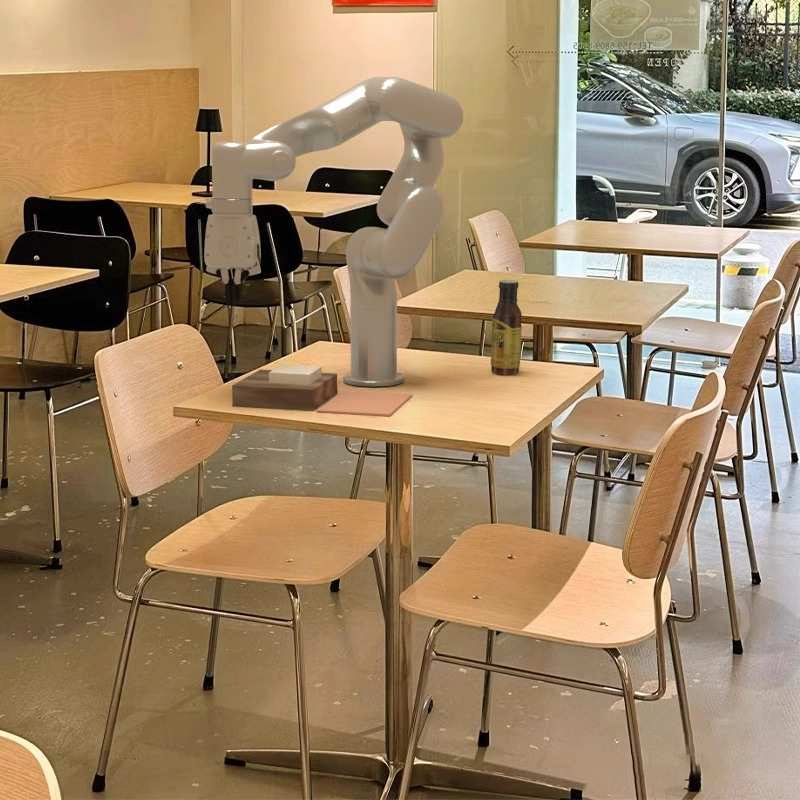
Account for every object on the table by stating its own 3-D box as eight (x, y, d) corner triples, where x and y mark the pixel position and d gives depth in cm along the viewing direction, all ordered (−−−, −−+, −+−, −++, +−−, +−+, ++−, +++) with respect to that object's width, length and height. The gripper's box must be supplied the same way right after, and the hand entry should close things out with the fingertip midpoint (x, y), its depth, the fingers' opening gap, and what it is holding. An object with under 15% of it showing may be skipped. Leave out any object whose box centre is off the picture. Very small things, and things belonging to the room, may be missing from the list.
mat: (343, 392, 270) (343, 390, 270) (412, 396, 267) (412, 394, 267) (316, 412, 253) (316, 410, 253) (389, 416, 250) (389, 414, 250)
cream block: (282, 374, 267) (282, 364, 267) (321, 376, 265) (321, 366, 265) (269, 382, 259) (268, 372, 259) (309, 384, 258) (309, 374, 257)
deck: (260, 389, 273) (260, 369, 272) (337, 393, 269) (337, 373, 269) (232, 406, 258) (232, 385, 257) (313, 410, 254) (313, 389, 253)
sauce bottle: (485, 371, 291) (487, 279, 287) (512, 369, 293) (514, 277, 289) (498, 377, 285) (500, 283, 281) (525, 375, 287) (527, 281, 283)
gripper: (188, 208, 256) (190, 304, 260) (263, 210, 253) (264, 308, 257) (203, 205, 263) (204, 299, 267) (276, 207, 260) (277, 303, 264)
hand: (234, 303), depth 262 cm, fingers closed
